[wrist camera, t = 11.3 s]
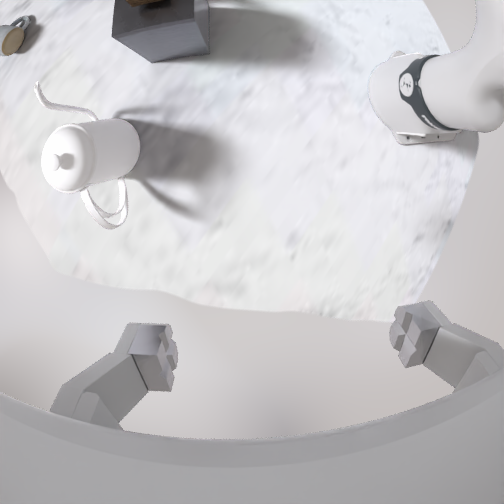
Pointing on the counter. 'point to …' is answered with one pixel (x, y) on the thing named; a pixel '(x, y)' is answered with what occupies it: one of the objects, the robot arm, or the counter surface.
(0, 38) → the ceramic mug
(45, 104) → the coffeepot
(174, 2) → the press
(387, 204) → the counter surface
